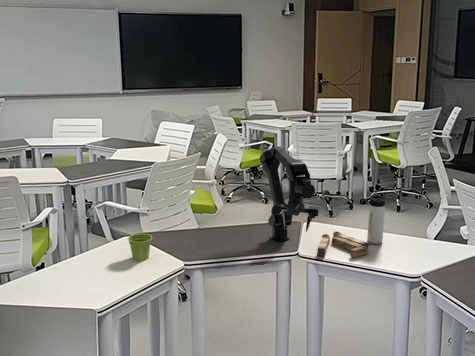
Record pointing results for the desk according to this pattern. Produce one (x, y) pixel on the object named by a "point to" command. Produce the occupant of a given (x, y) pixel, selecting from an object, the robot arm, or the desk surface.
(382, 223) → the travel mug
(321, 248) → the hinged leg
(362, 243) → the tan rectangular beam
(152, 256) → the desk surface
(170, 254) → the desk surface
